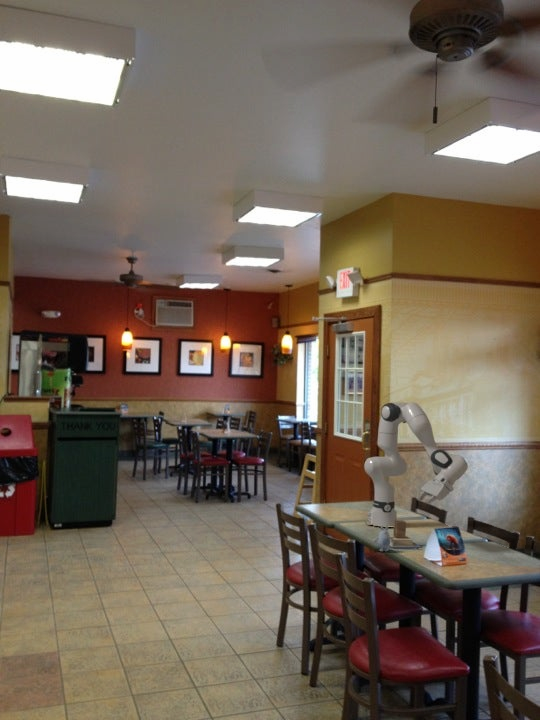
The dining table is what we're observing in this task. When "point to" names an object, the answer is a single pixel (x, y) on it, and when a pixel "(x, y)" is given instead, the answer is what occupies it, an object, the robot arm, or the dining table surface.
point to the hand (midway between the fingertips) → (423, 501)
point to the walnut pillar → (399, 529)
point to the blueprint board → (405, 546)
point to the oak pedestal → (401, 541)
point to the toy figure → (383, 539)
